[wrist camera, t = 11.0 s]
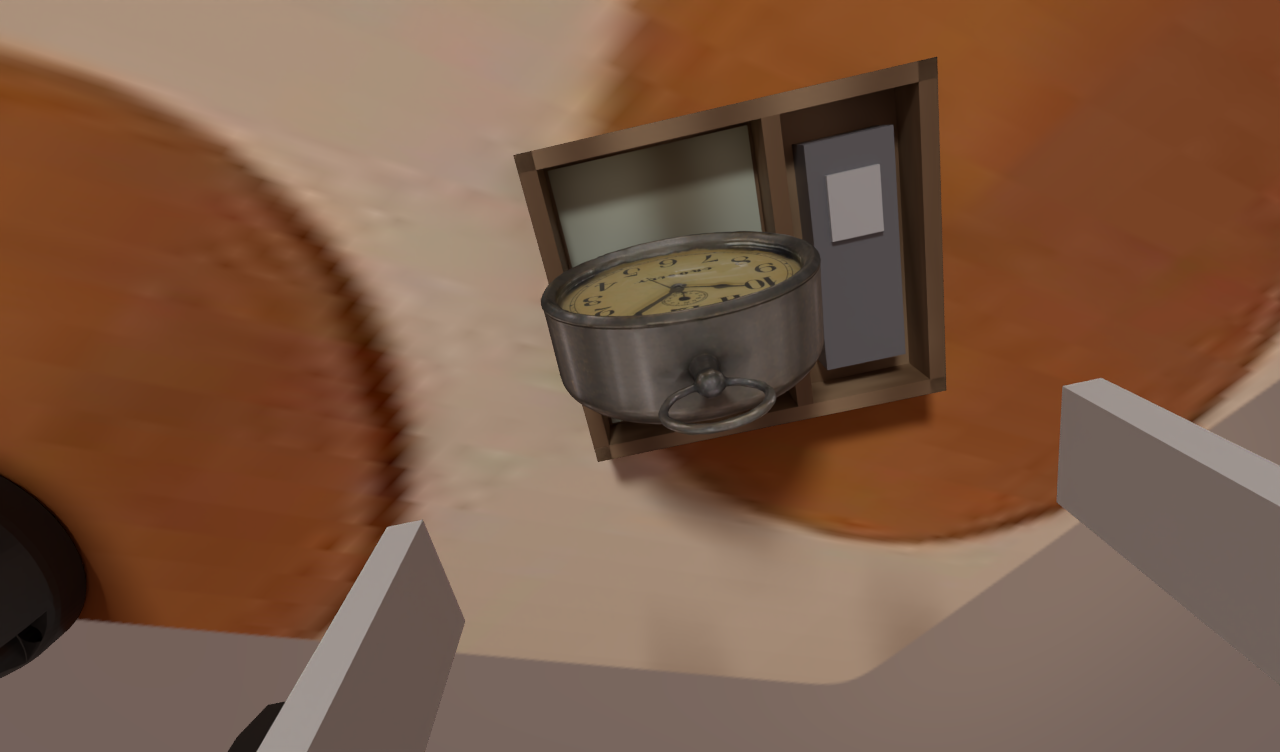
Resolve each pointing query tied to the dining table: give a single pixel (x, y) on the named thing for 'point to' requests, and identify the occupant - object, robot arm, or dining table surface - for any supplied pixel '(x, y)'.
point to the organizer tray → (753, 219)
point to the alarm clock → (689, 328)
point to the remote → (854, 241)
